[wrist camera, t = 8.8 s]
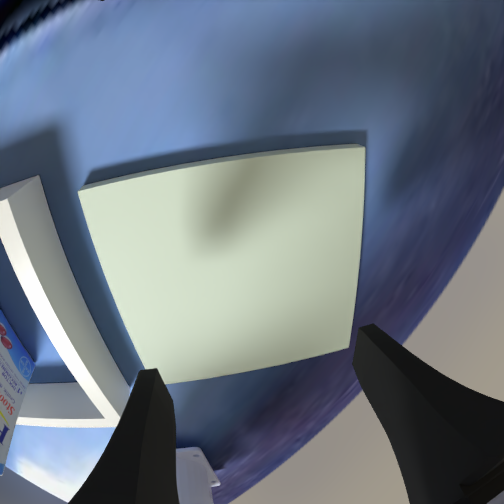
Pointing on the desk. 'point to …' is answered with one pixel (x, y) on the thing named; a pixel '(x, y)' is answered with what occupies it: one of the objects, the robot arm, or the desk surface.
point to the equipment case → (58, 318)
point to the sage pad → (233, 257)
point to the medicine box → (11, 383)
